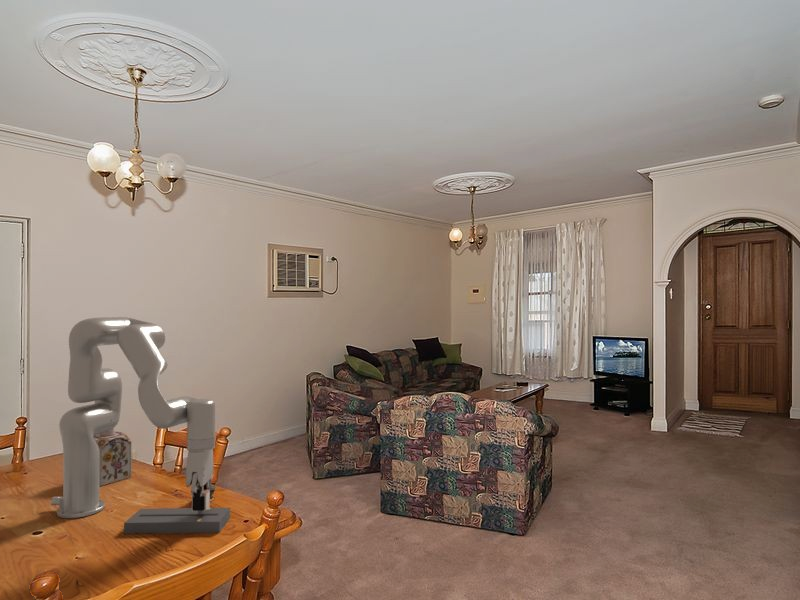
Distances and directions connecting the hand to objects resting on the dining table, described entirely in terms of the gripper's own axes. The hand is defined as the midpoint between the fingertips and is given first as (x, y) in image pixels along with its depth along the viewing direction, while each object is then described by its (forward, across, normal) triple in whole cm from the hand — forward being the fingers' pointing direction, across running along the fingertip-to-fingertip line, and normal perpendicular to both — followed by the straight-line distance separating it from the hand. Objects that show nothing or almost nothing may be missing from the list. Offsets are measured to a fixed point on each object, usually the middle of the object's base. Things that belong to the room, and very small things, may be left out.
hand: (200, 507), depth 150 cm
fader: (+2, 0, 0) cm, 2 cm away
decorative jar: (+6, -41, -47) cm, 63 cm away
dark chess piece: (+5, -20, -5) cm, 21 cm away
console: (+5, 0, -6) cm, 8 cm away
